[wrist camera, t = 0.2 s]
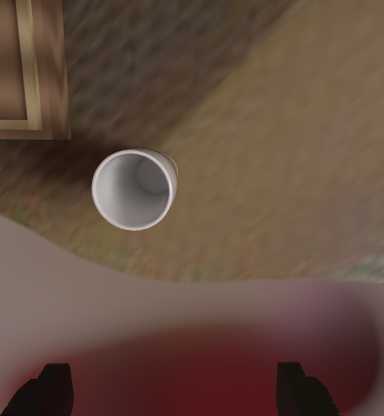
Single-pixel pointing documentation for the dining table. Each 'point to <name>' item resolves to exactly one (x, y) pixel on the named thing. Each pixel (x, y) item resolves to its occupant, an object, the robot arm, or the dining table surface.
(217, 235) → the dining table surface
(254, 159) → the dining table surface
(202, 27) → the dining table surface
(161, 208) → the drinking glass
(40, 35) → the wooden box
